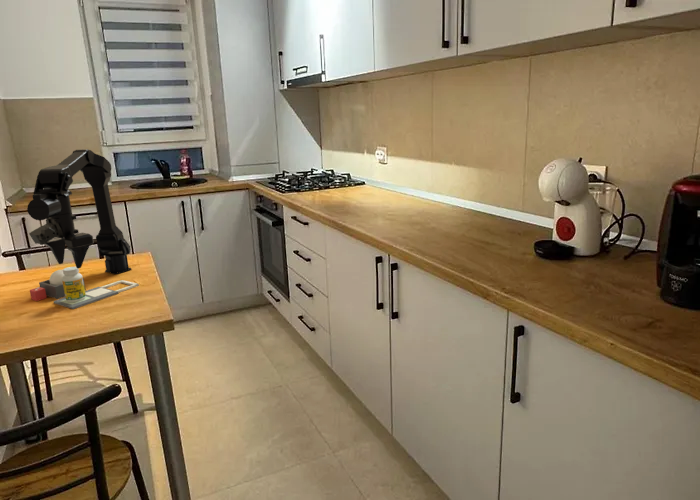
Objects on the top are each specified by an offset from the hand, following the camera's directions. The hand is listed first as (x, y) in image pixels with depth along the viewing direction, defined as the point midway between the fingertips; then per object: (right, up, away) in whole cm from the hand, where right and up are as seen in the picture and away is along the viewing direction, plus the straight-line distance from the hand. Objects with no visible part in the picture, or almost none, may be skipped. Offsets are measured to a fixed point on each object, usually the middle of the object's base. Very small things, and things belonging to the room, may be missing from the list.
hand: (69, 265), depth 149 cm
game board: (+4, -9, +9) cm, 13 cm away
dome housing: (-9, -9, +10) cm, 16 cm away
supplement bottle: (0, -10, +3) cm, 11 cm away
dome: (-8, -8, +12) cm, 16 cm away
